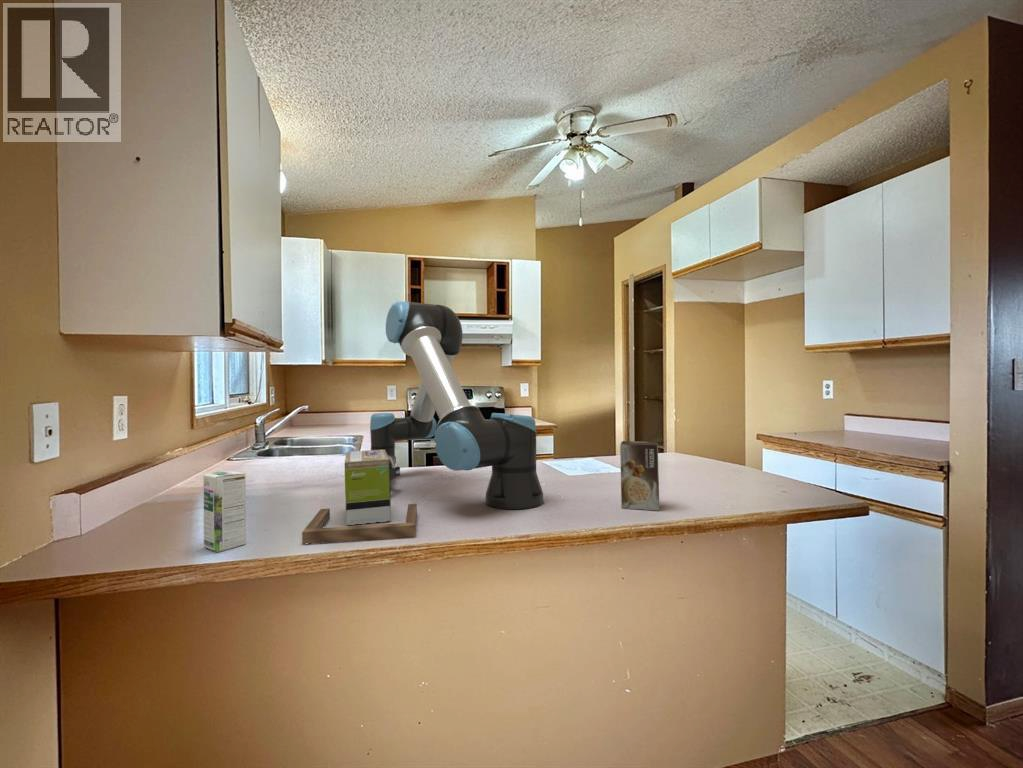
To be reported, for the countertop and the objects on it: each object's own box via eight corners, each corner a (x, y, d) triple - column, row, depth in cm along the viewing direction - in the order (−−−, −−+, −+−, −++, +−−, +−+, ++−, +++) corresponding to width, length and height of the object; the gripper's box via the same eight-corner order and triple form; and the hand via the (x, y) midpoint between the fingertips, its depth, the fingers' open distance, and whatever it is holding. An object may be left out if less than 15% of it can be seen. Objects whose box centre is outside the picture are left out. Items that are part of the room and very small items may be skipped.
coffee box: (660, 504, 125) (659, 441, 124) (659, 511, 119) (658, 444, 118) (623, 502, 128) (622, 440, 127) (620, 508, 122) (619, 443, 121)
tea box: (346, 509, 123) (345, 450, 123) (387, 505, 126) (386, 448, 126) (345, 526, 109) (344, 460, 109) (391, 522, 112) (390, 457, 112)
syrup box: (202, 547, 97) (200, 474, 97) (233, 539, 102) (231, 469, 101) (217, 553, 94) (215, 477, 93) (248, 544, 99) (246, 471, 98)
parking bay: (416, 514, 119) (416, 503, 119) (415, 537, 101) (415, 525, 101) (320, 519, 115) (320, 508, 115) (302, 544, 98) (302, 532, 98)
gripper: (402, 478, 150) (397, 497, 127) (357, 480, 148) (344, 500, 124) (401, 454, 150) (396, 468, 126) (357, 455, 148) (344, 470, 124)
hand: (370, 484), depth 125 cm, fingers closed
